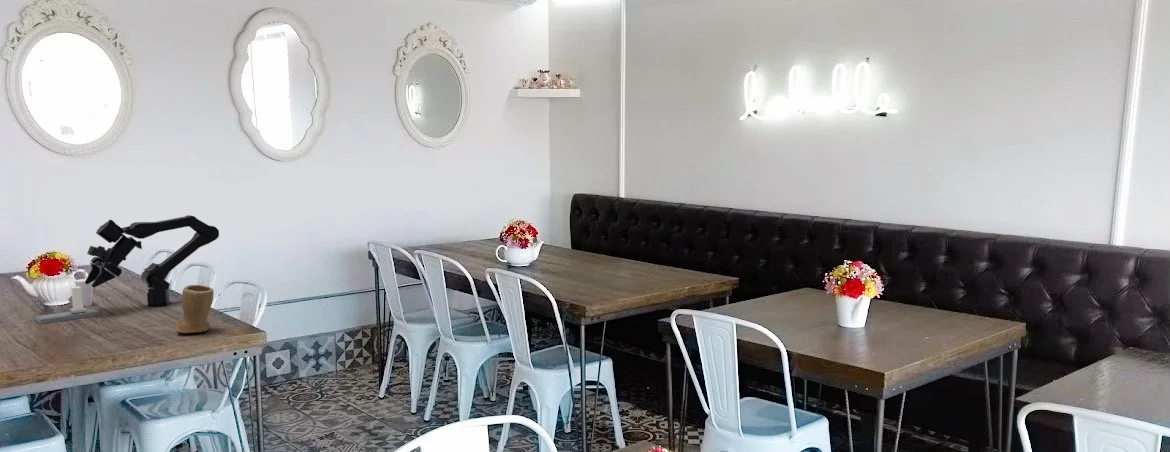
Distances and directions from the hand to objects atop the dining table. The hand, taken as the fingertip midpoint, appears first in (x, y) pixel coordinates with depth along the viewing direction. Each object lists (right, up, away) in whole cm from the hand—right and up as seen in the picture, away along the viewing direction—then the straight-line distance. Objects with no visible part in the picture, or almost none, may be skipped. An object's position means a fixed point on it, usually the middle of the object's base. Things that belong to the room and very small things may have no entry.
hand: (89, 285), depth 307 cm
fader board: (-5, -11, -4) cm, 13 cm away
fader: (-3, -9, -2) cm, 10 cm away
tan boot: (+50, -13, -25) cm, 57 cm away
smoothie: (-11, -9, +18) cm, 23 cm away
